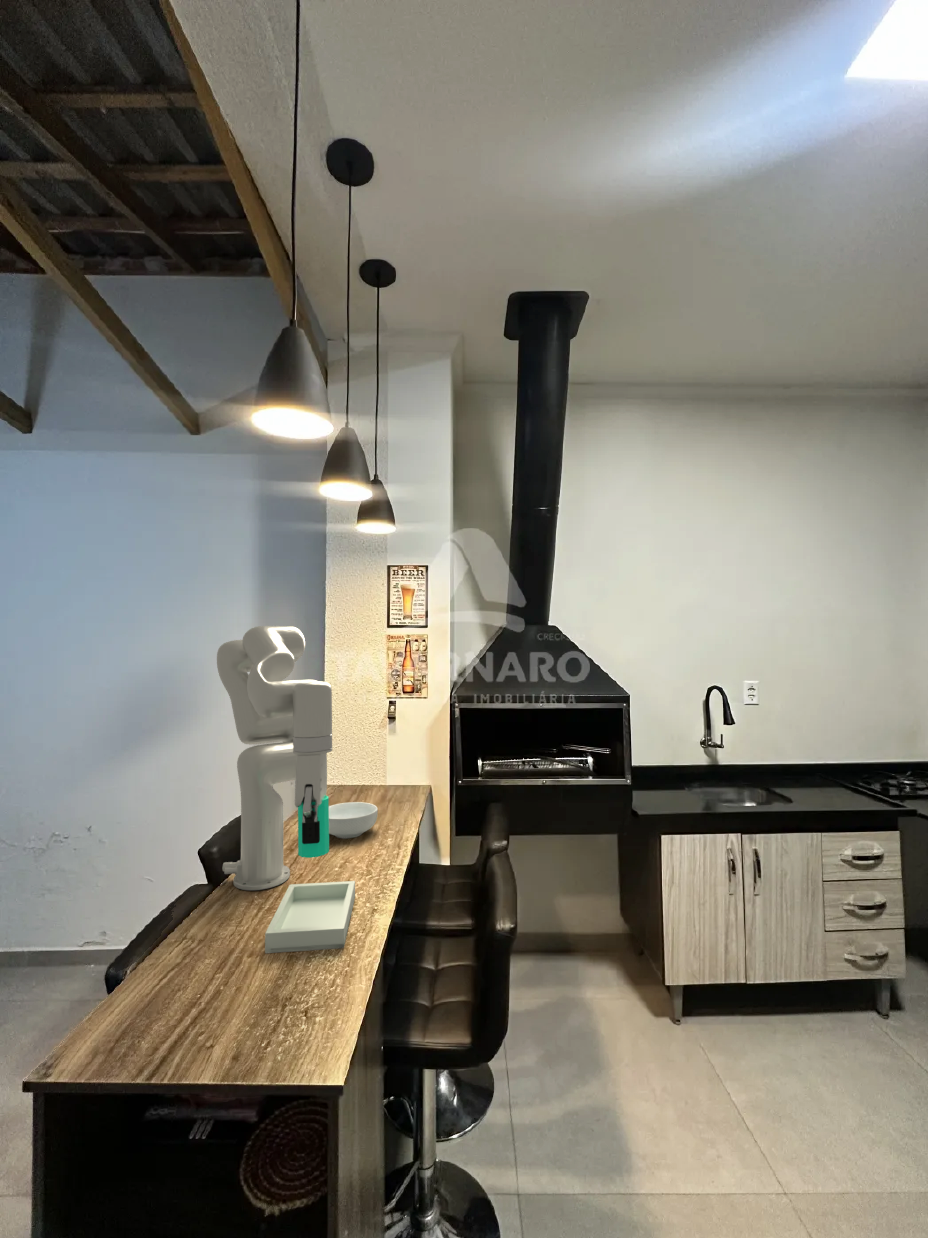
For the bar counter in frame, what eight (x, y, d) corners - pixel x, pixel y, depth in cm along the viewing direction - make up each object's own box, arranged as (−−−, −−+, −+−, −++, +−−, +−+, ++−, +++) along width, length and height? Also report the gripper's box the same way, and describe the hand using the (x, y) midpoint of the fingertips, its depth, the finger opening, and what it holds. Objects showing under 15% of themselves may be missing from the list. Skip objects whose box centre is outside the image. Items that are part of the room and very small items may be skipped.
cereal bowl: (373, 821, 169) (372, 799, 169) (382, 840, 153) (382, 814, 153) (317, 828, 164) (317, 804, 164) (320, 847, 148) (320, 821, 148)
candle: (303, 846, 108) (303, 786, 109) (333, 846, 108) (332, 785, 109) (293, 858, 102) (293, 794, 103) (324, 857, 102) (324, 793, 103)
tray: (265, 953, 97) (265, 933, 97) (289, 901, 117) (289, 884, 117) (343, 948, 98) (343, 928, 98) (355, 897, 118) (355, 881, 118)
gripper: (301, 738, 115) (301, 825, 114) (284, 753, 98) (284, 855, 97) (337, 737, 116) (337, 823, 114) (326, 751, 99) (327, 852, 98)
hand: (313, 837), depth 106 cm, fingers closed on candle, 4 cm apart
